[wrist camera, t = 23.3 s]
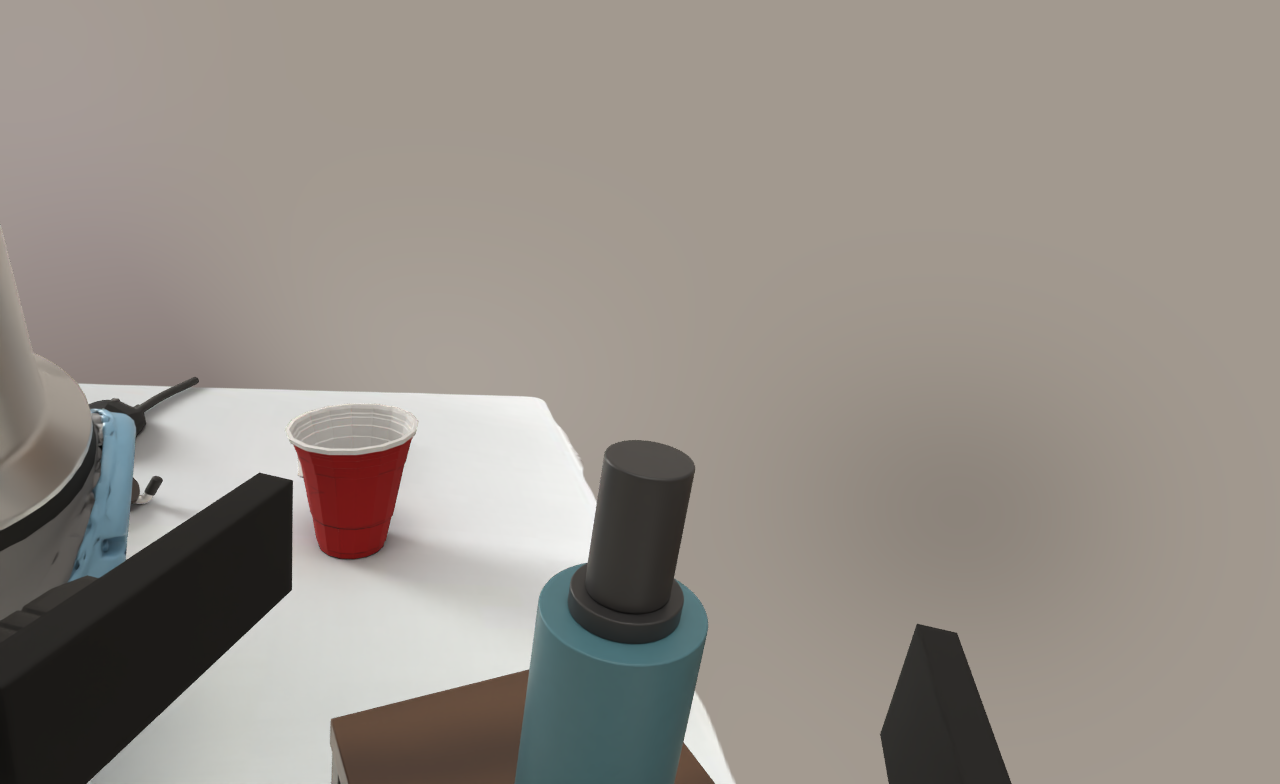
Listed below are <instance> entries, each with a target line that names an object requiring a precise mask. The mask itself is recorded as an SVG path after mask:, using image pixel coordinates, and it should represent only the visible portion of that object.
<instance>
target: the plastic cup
mask: <svg viewBox="0 0 1280 784" xmlns="http://www.w3.org/2000/svg"><path fill="white" fill-rule="evenodd" d="M418 422H419V421H418V420H417V419H416V418H415V416H414V415H413V414H412V413H410V412H408V411H405V410H403V409H400V408H398V407H393V406H387V405H380V404H343V405H335V406H327V407H323V408H320V409H316V410H312V411H309V412H305V413H304V414H302V415H300V416H298V417H296V418H294V419H293V420H291V421H290V422H289V424H288V425H287V427H286V428H285V432H286V435H287V437H288V439H289V441H290V443H291V444H293V445H294V447H295V450H296V452H297V455H298V459H299V461H300V463H301V468H302V473H303V478H304V482H305V487H306V492H307V497H308V502H309V507H310V512H311V514H312V517H313V522H314V528H315V534H316V538H317V541H318V544H319V546H320V549H321V550H322V551H323V552H325V553H326V554H328V555H329V556H333V557H337V558H342V559H356V558H362V557H367V556H369V555H372V554H374V553H376V552H378V551H379V550H380V549H381V548H382V547H383V545H384V542H385V541H386V538H387V533H388V529H389V525H390V520H391V516H393V512H394V508H395V503H396V499H397V495H398V490H399V486H400V481H401V477H402V472H403V468H404V463H405V462H406V458H407V454H408V451H409V447H410V443H411V440H412V438H413V436H415V434H416V430H417V426H418Z"/></svg>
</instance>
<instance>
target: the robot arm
mask: <svg viewBox="0 0 1280 784" xmlns="http://www.w3.org/2000/svg"><path fill="white" fill-rule="evenodd" d="M198 382H199V380H198V378H196V377H193V378H191V379H189V380H187V381H185V382H182V383H180V384H178V385H176V386H174V387H171V388H169V389H167V390H165V391H163V392H161V393H159V394H157V395H156V396H154V397H152V398H150V399H149V400H147V401H146V402H144V403H142V404H141V405H140V406H138V407H137V408H136V409H138V410H140V411H142V412H143V413H144V412H145V411H147V410H148V409H150V408H151V407H153V406H154V405H156V404H158V403H159V402H161V401H163V400H164V399H166V398H168V397H170V396H172V395H174V394H176V393H178V392H180V391H183V390H185V389H187V388H189V387H191V386H193V385H195V384H197V383H198ZM135 438H136V427H135V424H134V420H132V419H131V418H130V417H129V416H128V415H126V414H123V413H114V412H109V411H108V410H106V409H104V408H103V409H91V410H90V407H89V404H88V402H87V399H86V396H85V394H84V393H83V391H82V390H81V388H80V386H79V385H78V383H77V382H76V381H75V380H74V379H73V378H72V377H71V376H69V374H67V373H66V372H65V371H64V370H62V369H61V368H60V367H58V366H57V365H55V364H54V363H52V362H51V361H49V360H47V359H45V358H43V357H41V356H39V355H37V354H35V353H33V350H32V346H31V342H30V338H29V335H28V331H27V327H26V322H25V319H24V315H23V311H22V307H21V303H20V299H19V295H18V291H17V287H16V283H15V279H14V276H13V271H12V268H11V264H10V260H9V256H8V252H7V248H6V244H5V240H4V236H3V232H2V229H1V224H0V784H86V783H87V782H88V781H90V780H91V779H92V778H93V777H94V776H95V775H96V774H97V773H98V772H99V771H100V770H101V769H102V768H103V767H104V766H105V765H107V764H108V763H109V762H110V761H111V760H112V759H113V758H114V757H115V756H116V755H117V754H118V753H119V752H120V751H121V750H122V749H123V748H125V747H126V746H127V745H128V744H129V743H130V742H131V741H132V740H133V739H134V738H135V737H136V736H137V735H138V734H139V733H140V732H142V731H143V730H144V729H145V728H146V727H147V726H148V725H149V724H150V723H151V722H152V721H153V720H154V719H155V718H156V717H157V716H159V715H160V714H161V713H162V712H163V711H164V710H165V709H166V708H167V707H168V706H169V705H170V704H171V703H172V702H173V701H174V700H176V699H177V698H178V697H179V696H180V695H181V694H182V693H183V692H184V691H185V690H186V689H187V688H188V687H189V686H190V685H191V684H192V683H194V682H195V681H196V680H197V679H198V678H199V677H200V676H201V675H202V674H203V673H204V672H205V671H206V670H207V669H208V668H209V667H211V666H212V665H213V664H214V663H215V662H216V661H217V660H218V659H219V658H220V657H221V656H222V655H223V654H224V653H225V652H226V651H228V650H229V649H230V648H231V647H232V646H233V645H234V644H235V643H236V642H237V641H238V640H239V639H240V638H241V637H242V636H243V635H244V634H246V633H247V632H248V631H249V630H250V629H251V628H252V627H253V626H254V625H255V624H256V623H257V622H258V621H259V620H260V619H261V618H263V617H264V616H265V615H266V614H267V613H268V612H269V611H270V610H271V609H272V608H273V607H274V606H275V605H276V604H277V603H278V602H280V601H281V600H282V599H283V598H284V597H285V596H286V595H287V594H288V593H289V592H290V591H291V590H292V504H293V480H289V479H284V478H280V477H276V476H271V475H267V474H263V473H258V474H257V475H255V476H254V477H252V478H251V479H249V480H248V481H246V482H245V483H243V484H242V485H240V486H238V487H237V488H235V489H234V490H232V491H231V492H229V493H228V494H226V495H225V496H223V497H222V498H220V499H219V500H217V501H216V502H214V503H213V504H211V505H210V506H208V507H206V508H205V509H203V510H202V511H200V512H199V513H197V514H196V515H194V516H193V517H191V518H190V519H188V520H187V521H185V522H184V523H182V524H181V525H179V526H178V527H176V528H175V529H173V530H171V531H170V532H168V533H167V534H165V535H164V536H162V537H161V538H159V539H158V540H156V541H155V542H153V543H152V544H150V545H149V546H147V547H146V548H144V549H143V550H141V551H139V552H138V553H136V554H135V555H133V556H132V557H130V558H129V559H127V560H126V548H127V537H128V526H129V516H130V505H131V493H132V480H133V467H134V453H135ZM880 735H881V741H882V747H883V753H884V758H885V764H886V770H887V775H888V781H889V784H1011V781H1010V778H1009V776H1008V773H1007V770H1006V767H1005V764H1004V762H1003V759H1002V756H1001V753H1000V751H999V748H998V745H997V742H996V740H995V737H994V734H993V731H992V728H991V726H990V723H989V720H988V718H987V715H986V712H985V710H984V706H983V704H982V701H981V698H980V695H979V693H978V690H977V687H976V684H975V682H974V679H973V676H972V674H971V670H970V668H969V665H968V662H967V659H966V657H965V654H964V651H963V648H962V646H961V643H960V640H959V637H958V635H957V633H955V632H951V631H946V630H942V629H937V628H933V627H929V626H924V625H920V624H917V625H916V629H915V631H914V635H913V637H912V641H911V644H910V647H909V650H908V653H907V656H906V659H905V662H904V665H903V668H902V671H901V674H900V677H899V680H898V683H897V686H896V689H895V692H894V695H893V698H892V701H891V704H890V707H889V710H888V713H887V716H886V719H885V722H884V725H883V728H882V731H881V734H880Z"/></svg>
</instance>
